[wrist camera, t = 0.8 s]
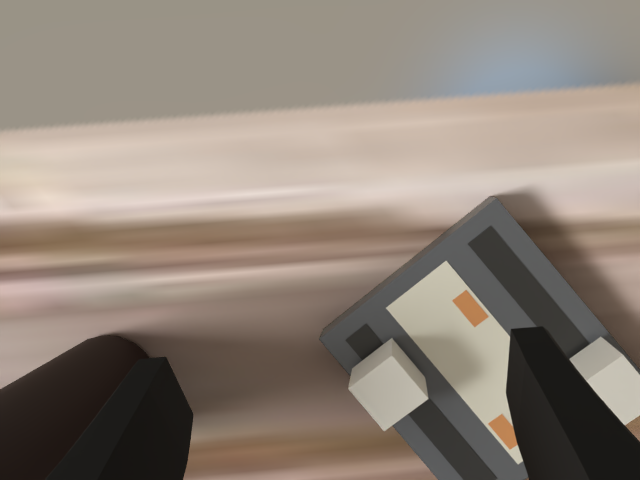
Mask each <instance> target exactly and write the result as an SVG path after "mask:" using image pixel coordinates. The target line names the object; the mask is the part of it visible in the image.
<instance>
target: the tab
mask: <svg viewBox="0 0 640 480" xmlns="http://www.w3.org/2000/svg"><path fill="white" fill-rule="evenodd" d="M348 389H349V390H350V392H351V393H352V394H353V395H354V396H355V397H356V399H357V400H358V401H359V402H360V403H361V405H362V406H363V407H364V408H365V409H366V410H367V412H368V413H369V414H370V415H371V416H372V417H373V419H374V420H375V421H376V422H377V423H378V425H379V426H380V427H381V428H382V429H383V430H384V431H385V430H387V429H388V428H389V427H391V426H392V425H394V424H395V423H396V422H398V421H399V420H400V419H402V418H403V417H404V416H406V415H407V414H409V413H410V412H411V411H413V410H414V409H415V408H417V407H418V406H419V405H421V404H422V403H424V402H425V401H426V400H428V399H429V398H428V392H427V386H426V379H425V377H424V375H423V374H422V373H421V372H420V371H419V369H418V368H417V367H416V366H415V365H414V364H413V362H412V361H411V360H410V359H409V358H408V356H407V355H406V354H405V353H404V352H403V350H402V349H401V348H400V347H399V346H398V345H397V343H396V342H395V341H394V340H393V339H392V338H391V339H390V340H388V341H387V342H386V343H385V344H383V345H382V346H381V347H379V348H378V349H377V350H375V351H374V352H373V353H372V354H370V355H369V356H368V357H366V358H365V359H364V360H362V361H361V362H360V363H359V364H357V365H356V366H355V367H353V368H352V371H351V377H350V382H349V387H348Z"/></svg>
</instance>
